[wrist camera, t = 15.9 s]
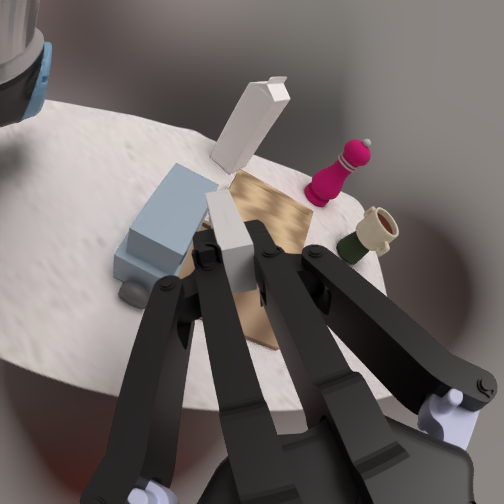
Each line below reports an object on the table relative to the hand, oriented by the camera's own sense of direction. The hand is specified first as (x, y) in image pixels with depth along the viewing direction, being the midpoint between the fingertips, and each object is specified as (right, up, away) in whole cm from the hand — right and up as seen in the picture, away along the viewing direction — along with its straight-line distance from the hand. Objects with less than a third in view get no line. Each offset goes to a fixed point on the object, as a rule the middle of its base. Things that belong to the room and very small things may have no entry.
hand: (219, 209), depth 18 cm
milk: (-3, +16, +39) cm, 43 cm away
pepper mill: (+17, +10, +47) cm, 51 cm away
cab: (-12, -3, +22) cm, 25 cm away
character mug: (+23, -3, +42) cm, 48 cm away
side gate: (+3, -2, +28) cm, 28 cm away
